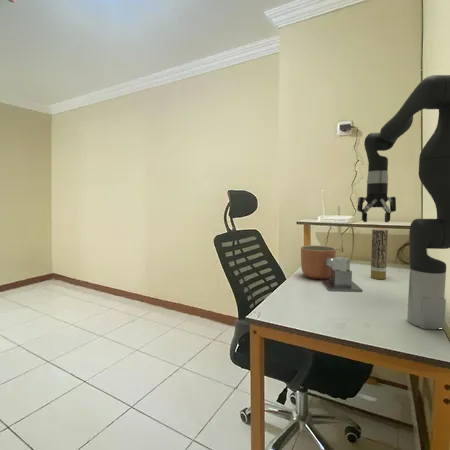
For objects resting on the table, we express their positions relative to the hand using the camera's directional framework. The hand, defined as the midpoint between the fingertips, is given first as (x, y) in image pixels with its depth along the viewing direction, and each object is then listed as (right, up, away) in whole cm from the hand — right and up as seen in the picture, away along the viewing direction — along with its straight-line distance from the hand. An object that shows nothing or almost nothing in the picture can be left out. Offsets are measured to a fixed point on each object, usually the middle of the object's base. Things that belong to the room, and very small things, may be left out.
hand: (375, 222), depth 118 cm
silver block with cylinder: (-11, -27, +12) cm, 32 cm away
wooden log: (+15, -28, +26) cm, 41 cm away
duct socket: (-10, -29, +12) cm, 33 cm away
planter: (-15, -28, +28) cm, 43 cm away
